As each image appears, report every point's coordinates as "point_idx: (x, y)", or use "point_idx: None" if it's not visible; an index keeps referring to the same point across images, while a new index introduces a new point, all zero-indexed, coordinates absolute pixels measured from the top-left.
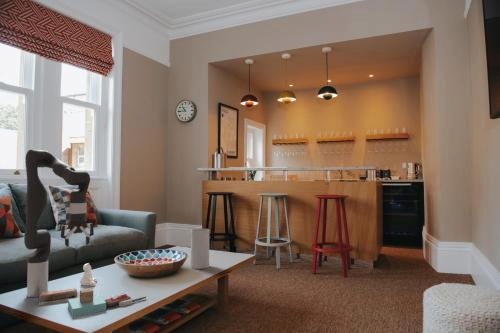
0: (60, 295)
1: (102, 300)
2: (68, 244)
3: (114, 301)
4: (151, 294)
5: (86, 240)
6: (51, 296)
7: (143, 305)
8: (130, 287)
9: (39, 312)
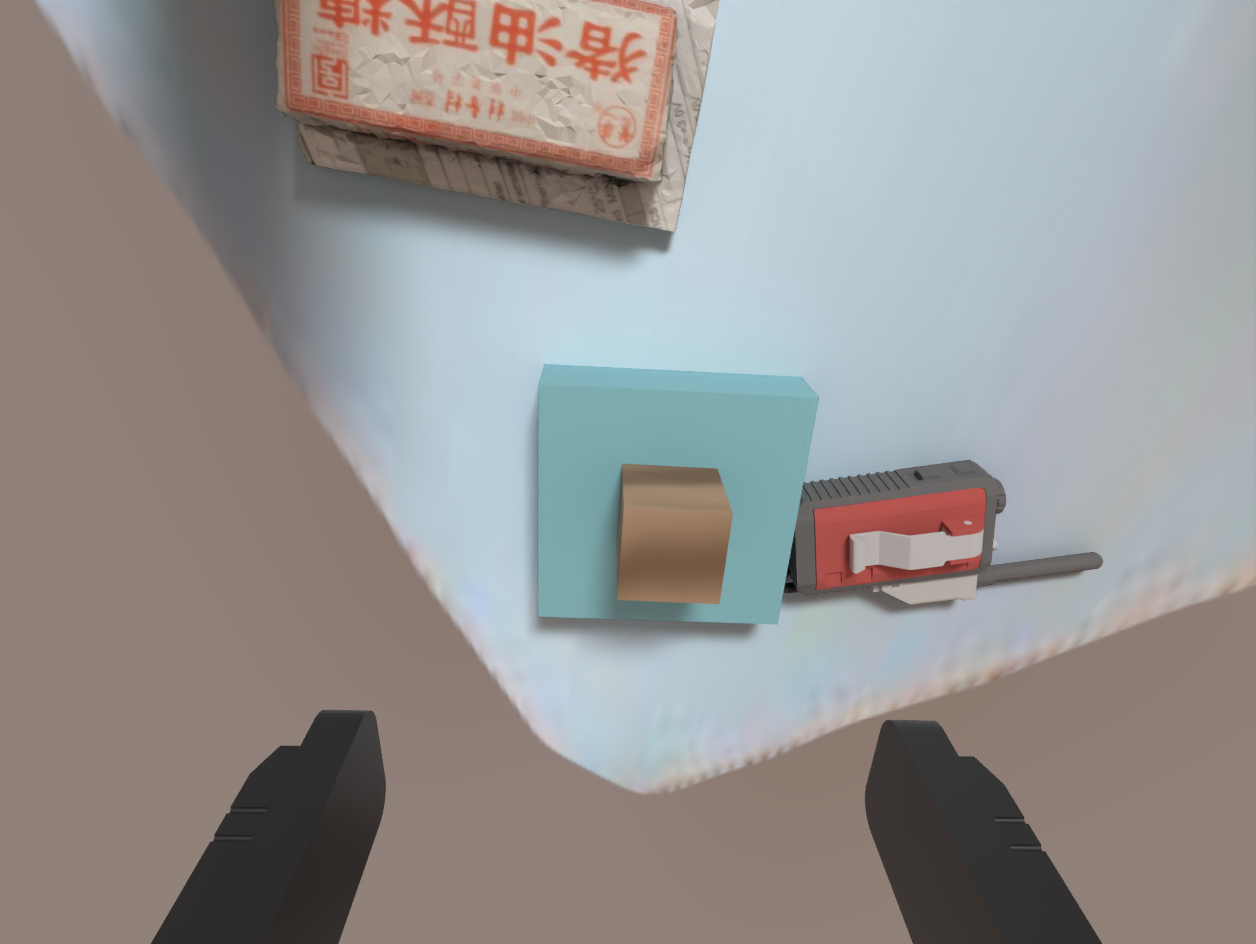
0: (492, 157)
1: (773, 566)
2: (355, 870)
3: (851, 584)
4: (1199, 476)
5: (918, 918)
6: (402, 139)
7: (998, 646)
8: (1229, 141)
9: (326, 354)
